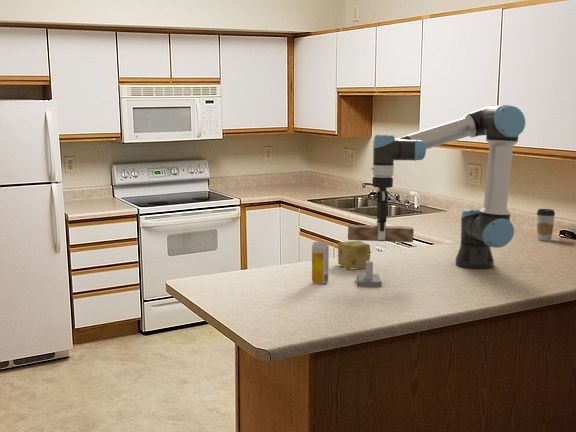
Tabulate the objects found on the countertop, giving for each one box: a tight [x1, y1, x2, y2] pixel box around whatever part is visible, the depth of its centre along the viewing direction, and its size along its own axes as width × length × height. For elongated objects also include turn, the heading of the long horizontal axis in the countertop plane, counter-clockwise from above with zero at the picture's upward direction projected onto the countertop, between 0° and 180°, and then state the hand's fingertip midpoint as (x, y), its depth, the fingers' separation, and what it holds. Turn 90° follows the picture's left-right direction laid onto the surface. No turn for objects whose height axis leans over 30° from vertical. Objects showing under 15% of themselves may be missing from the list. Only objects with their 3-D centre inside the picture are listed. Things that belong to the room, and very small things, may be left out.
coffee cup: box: [536, 208, 556, 242], centre depth 334 cm, size 8×8×15 cm
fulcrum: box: [356, 260, 383, 288], centre depth 252 cm, size 8×12×8 cm, turn 178°
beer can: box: [311, 241, 330, 286], centre depth 252 cm, size 6×6×15 cm
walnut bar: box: [347, 224, 415, 243], centre depth 257 cm, size 24×5×5 cm, turn 87°
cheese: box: [337, 240, 371, 270], centre depth 279 cm, size 10×11×10 cm
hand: (380, 238), depth 258 cm, fingers closed on walnut bar, 5 cm apart
